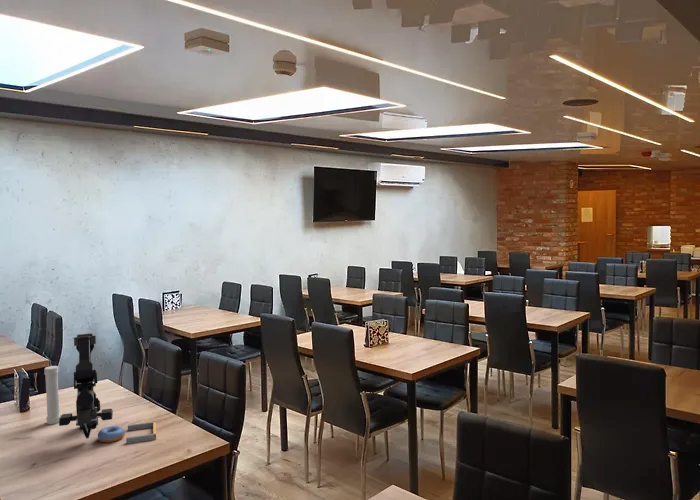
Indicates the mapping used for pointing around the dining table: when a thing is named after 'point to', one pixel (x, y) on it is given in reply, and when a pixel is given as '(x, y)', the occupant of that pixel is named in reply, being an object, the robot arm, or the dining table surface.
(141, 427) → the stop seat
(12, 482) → the dining table surface
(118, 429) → the doughnut
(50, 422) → the pipe
